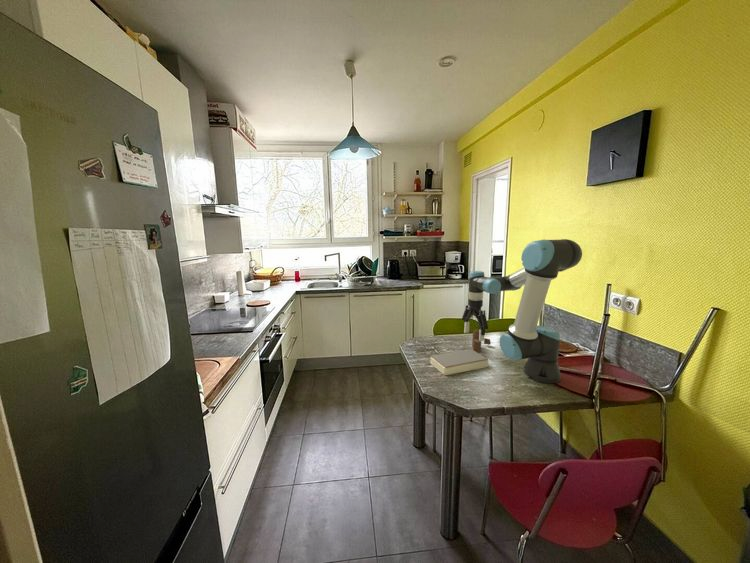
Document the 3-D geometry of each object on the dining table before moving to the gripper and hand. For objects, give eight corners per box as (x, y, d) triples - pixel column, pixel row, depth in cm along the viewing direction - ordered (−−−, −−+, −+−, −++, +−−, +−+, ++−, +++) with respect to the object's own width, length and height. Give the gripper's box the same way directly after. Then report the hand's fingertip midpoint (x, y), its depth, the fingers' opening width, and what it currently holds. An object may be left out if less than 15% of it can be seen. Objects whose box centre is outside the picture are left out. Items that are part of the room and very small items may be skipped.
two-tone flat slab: (488, 366, 145) (488, 359, 144) (444, 375, 137) (445, 367, 137) (470, 356, 158) (471, 349, 157) (430, 363, 150) (430, 356, 149)
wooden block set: (482, 357, 157) (483, 338, 155) (466, 353, 161) (467, 335, 159) (490, 346, 171) (491, 329, 169) (475, 342, 176) (476, 326, 174)
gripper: (497, 303, 151) (494, 343, 154) (467, 294, 174) (465, 328, 177) (485, 304, 148) (482, 345, 152) (456, 295, 171) (455, 330, 175)
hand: (473, 336), depth 165 cm, fingers open, 12 cm apart
